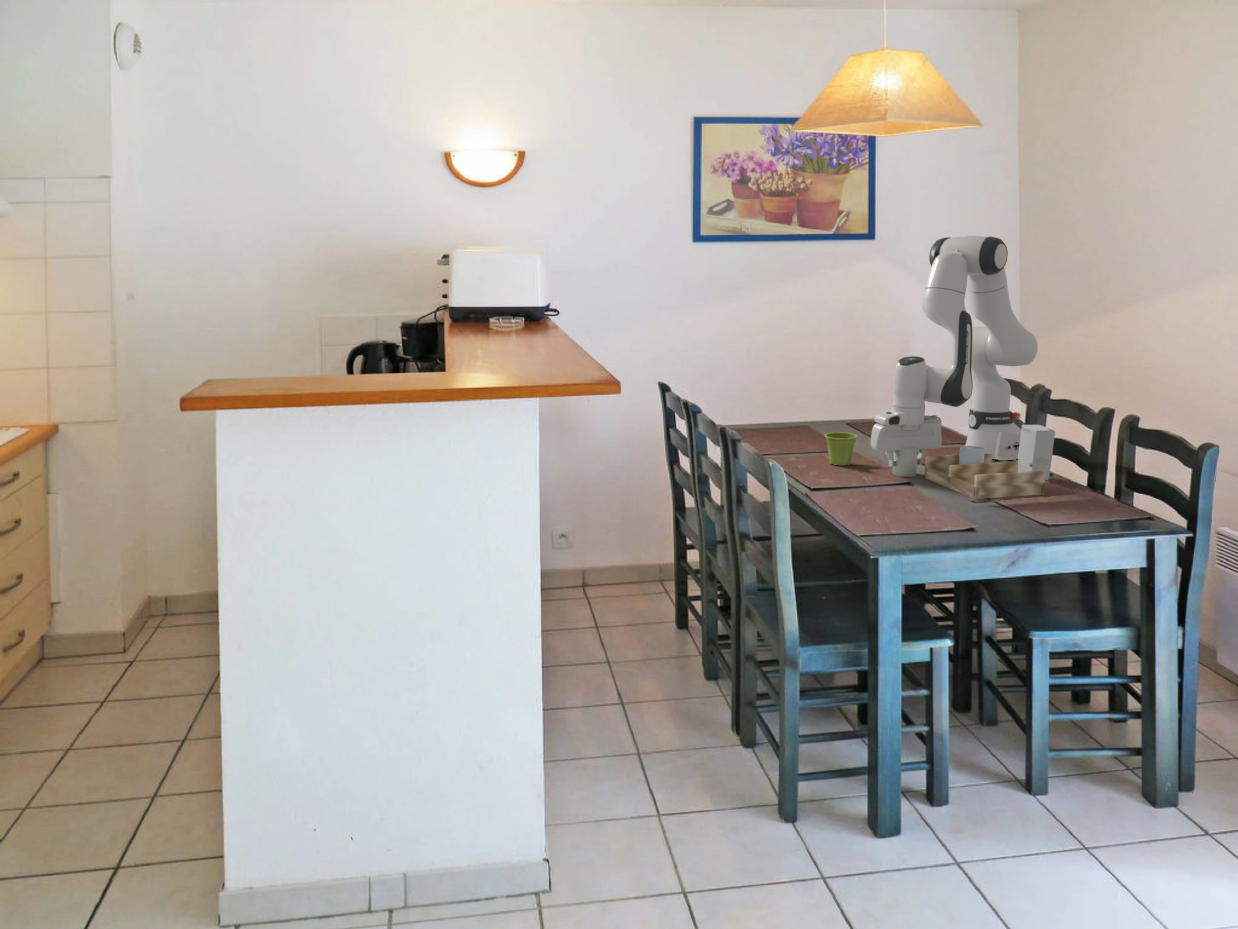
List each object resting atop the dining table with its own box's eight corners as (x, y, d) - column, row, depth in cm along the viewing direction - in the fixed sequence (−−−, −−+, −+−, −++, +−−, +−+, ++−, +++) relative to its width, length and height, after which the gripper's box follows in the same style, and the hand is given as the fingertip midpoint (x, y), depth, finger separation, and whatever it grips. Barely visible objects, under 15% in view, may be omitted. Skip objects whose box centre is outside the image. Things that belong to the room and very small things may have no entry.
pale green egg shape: (909, 475, 314) (910, 443, 312) (920, 480, 308) (922, 448, 306) (888, 476, 312) (890, 445, 310) (899, 481, 306) (901, 449, 304)
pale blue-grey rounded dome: (973, 477, 305) (976, 445, 304) (987, 482, 299) (989, 449, 297) (953, 478, 304) (955, 446, 302) (966, 484, 298) (968, 451, 296)
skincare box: (1015, 476, 312) (1019, 424, 309) (1034, 475, 314) (1039, 423, 310) (1031, 483, 304) (1035, 429, 301) (1051, 482, 305) (1056, 429, 302)
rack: (988, 478, 310) (990, 452, 309) (1043, 498, 287) (1046, 471, 285) (924, 482, 305) (925, 456, 304) (975, 503, 282) (977, 475, 280)
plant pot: (856, 468, 323) (857, 438, 321) (823, 466, 325) (824, 437, 323) (856, 461, 332) (857, 433, 330) (823, 460, 334) (825, 431, 332)
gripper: (935, 413, 312) (932, 461, 315) (869, 415, 307) (866, 465, 310) (947, 416, 306) (944, 465, 309) (880, 419, 301) (877, 469, 304)
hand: (905, 465), depth 309 cm, fingers closed on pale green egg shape, 6 cm apart
